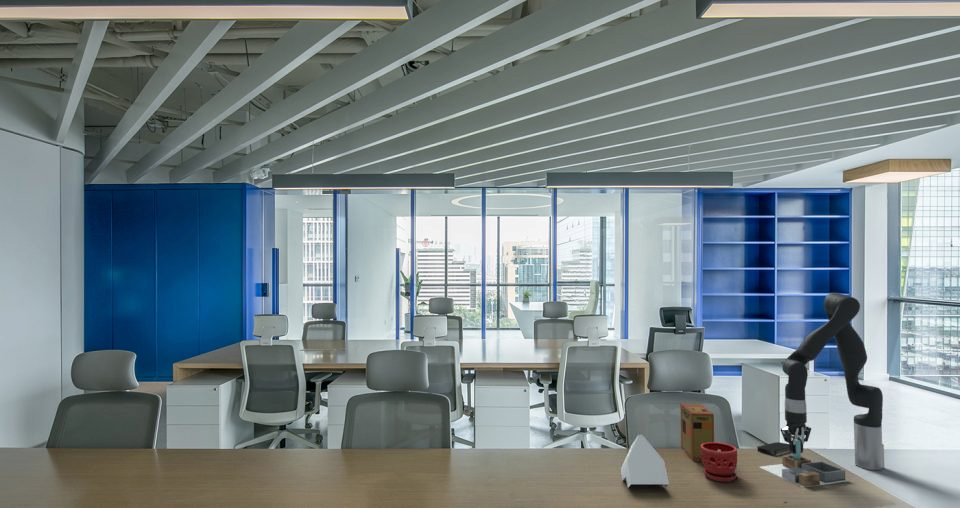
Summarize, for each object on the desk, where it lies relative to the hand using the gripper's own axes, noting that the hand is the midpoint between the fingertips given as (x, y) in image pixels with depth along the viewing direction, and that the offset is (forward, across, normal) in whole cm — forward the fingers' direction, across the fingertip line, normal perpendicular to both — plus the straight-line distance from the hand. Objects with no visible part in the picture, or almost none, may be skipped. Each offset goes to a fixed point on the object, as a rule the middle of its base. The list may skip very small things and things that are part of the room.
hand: (796, 452), depth 205 cm
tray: (+6, +2, -10) cm, 12 cm away
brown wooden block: (+6, -10, -14) cm, 18 cm away
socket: (+6, 0, 0) cm, 6 cm away
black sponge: (+8, +9, +19) cm, 22 cm away
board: (+7, -3, -5) cm, 10 cm away
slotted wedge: (+8, -67, +7) cm, 68 cm away
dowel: (+6, 0, 0) cm, 6 cm away
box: (+8, -26, +27) cm, 38 cm away
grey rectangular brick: (+6, -10, -9) cm, 15 cm away
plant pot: (+8, -35, +3) cm, 36 cm away
